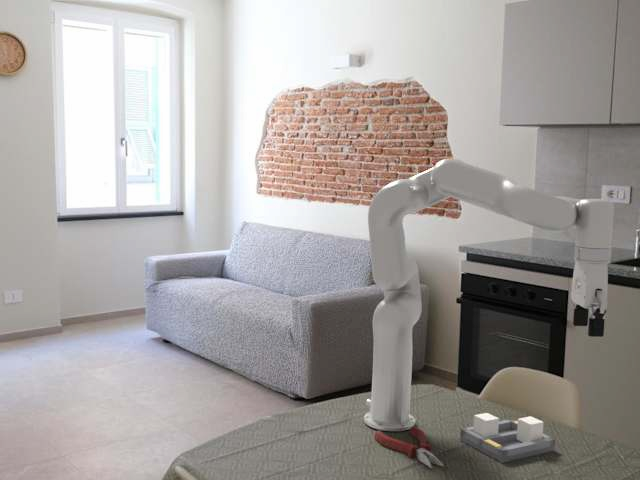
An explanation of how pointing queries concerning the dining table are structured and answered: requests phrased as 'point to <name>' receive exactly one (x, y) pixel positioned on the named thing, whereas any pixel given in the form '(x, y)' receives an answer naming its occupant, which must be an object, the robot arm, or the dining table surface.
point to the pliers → (410, 446)
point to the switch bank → (507, 443)
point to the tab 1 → (485, 425)
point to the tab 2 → (529, 429)
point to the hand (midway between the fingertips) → (587, 330)
